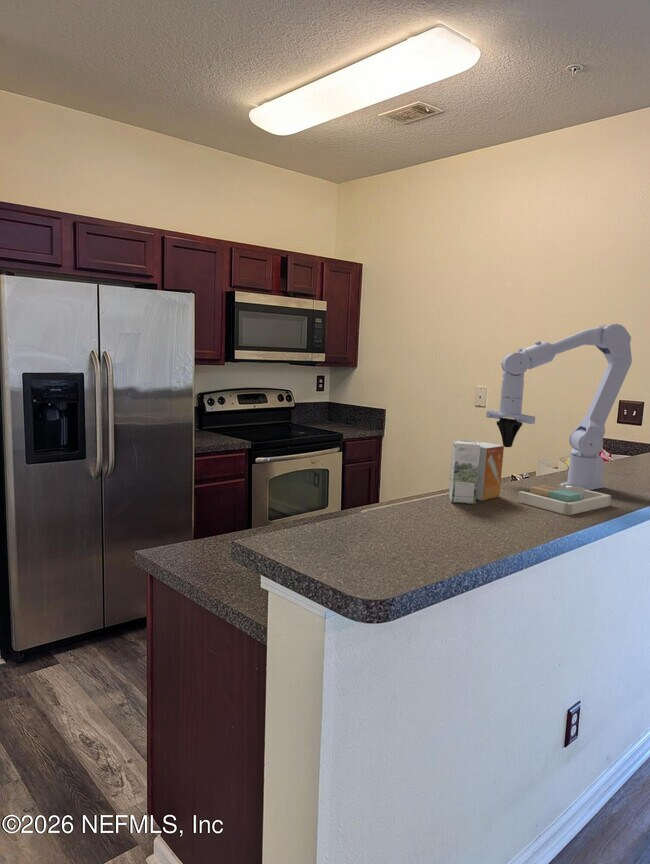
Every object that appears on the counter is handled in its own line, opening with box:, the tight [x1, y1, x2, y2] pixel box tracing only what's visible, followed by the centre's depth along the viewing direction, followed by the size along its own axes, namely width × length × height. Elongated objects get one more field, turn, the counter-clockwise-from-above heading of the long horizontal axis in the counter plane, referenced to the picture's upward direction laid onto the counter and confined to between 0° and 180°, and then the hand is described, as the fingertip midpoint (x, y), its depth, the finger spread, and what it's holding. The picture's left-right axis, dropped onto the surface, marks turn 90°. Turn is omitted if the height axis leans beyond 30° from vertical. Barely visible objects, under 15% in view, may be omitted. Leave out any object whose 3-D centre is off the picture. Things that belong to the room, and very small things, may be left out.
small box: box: [476, 441, 505, 501], centre depth 150 cm, size 8×6×13 cm
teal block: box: [549, 489, 581, 503], centre depth 142 cm, size 5×5×4 cm
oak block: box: [529, 484, 560, 498], centre depth 146 cm, size 5×5×4 cm
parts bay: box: [517, 483, 612, 516], centre depth 147 cm, size 18×13×2 cm
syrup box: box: [448, 439, 480, 505], centre depth 144 cm, size 6×6×14 cm
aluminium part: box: [563, 484, 585, 500], centre depth 149 cm, size 5×5×4 cm
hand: (507, 446), depth 168 cm, fingers closed
